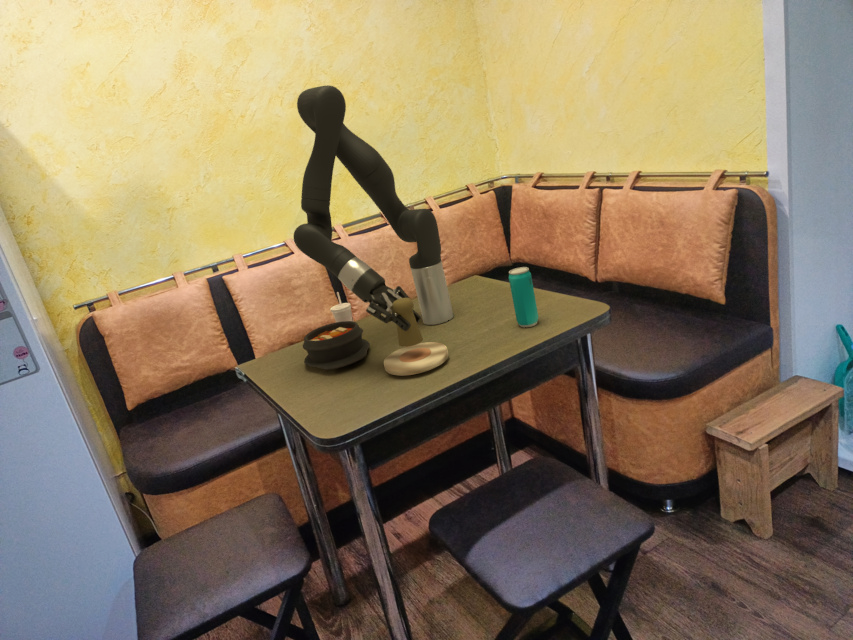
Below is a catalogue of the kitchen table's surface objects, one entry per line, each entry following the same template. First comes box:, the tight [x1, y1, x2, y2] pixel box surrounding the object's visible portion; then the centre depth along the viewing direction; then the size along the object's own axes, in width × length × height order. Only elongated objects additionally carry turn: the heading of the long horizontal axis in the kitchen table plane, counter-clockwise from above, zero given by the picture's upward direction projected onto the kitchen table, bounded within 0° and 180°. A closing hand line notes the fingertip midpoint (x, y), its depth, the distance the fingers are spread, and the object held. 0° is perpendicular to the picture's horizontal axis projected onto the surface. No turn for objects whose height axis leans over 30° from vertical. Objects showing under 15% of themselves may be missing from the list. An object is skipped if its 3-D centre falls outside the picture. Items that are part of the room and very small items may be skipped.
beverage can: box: [508, 266, 539, 329], centre depth 155 cm, size 6×6×15 cm
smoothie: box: [330, 291, 353, 323], centre depth 181 cm, size 6×6×14 cm
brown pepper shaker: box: [393, 297, 424, 348], centre depth 144 cm, size 6×6×11 cm
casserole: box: [302, 320, 371, 371], centre depth 164 cm, size 25×19×8 cm
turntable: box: [383, 341, 449, 376], centre depth 148 cm, size 16×16×3 cm
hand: (413, 324), depth 144 cm, fingers closed on brown pepper shaker, 4 cm apart
